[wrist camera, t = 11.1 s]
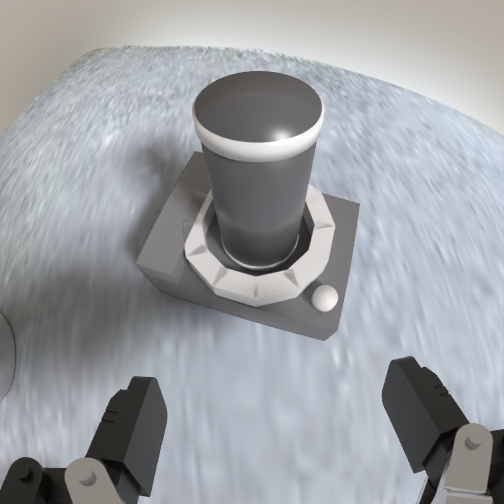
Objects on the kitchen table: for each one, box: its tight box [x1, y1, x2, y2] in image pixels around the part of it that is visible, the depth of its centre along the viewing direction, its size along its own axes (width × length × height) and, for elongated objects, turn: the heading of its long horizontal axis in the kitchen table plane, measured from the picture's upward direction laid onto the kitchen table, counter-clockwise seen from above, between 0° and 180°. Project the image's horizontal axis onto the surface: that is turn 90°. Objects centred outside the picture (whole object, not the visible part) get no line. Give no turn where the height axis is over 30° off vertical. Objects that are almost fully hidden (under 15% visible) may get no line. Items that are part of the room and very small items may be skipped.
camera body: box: [136, 151, 360, 341], centre depth 20 cm, size 12×9×5 cm
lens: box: [192, 71, 325, 272], centre depth 14 cm, size 5×5×10 cm
